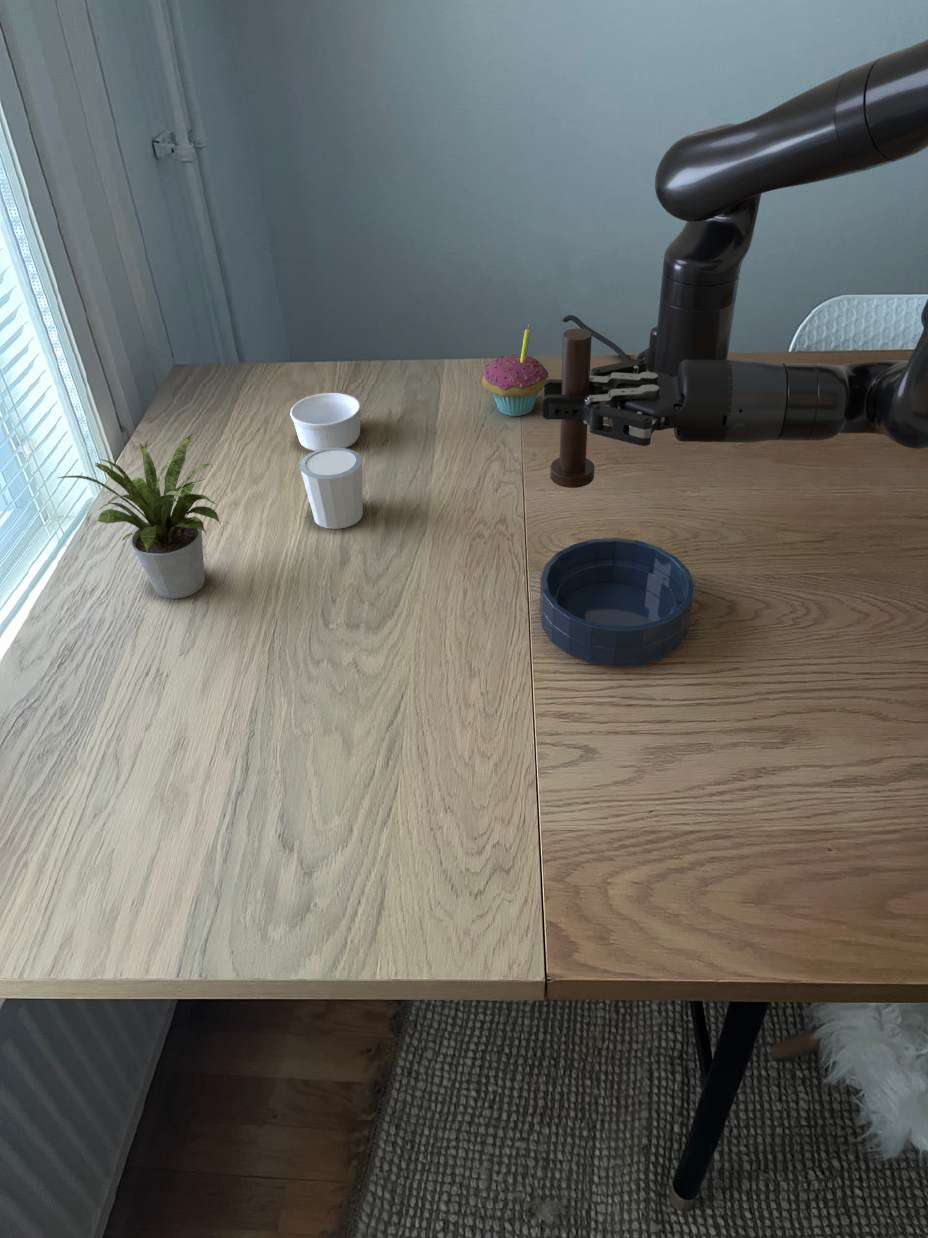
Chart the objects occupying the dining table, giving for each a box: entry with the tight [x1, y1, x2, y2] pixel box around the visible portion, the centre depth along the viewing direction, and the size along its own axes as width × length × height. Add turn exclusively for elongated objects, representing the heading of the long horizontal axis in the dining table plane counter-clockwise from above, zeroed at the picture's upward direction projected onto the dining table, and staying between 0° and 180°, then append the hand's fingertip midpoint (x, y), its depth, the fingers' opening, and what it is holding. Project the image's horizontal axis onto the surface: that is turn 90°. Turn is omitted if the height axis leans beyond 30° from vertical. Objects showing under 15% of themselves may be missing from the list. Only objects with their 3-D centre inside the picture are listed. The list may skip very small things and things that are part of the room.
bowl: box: [539, 537, 696, 668], centre depth 91 cm, size 14×14×5 cm
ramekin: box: [289, 392, 361, 452], centre depth 121 cm, size 9×9×4 cm
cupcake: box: [482, 323, 549, 417], centre depth 123 cm, size 9×8×12 cm
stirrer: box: [549, 328, 596, 489], centre depth 91 cm, size 4×4×15 cm
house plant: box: [58, 432, 221, 600], centre depth 94 cm, size 14×14×16 cm
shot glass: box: [299, 447, 364, 530], centre depth 106 cm, size 7×7×7 cm
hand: (544, 399), depth 91 cm, fingers closed on stirrer, 2 cm apart
